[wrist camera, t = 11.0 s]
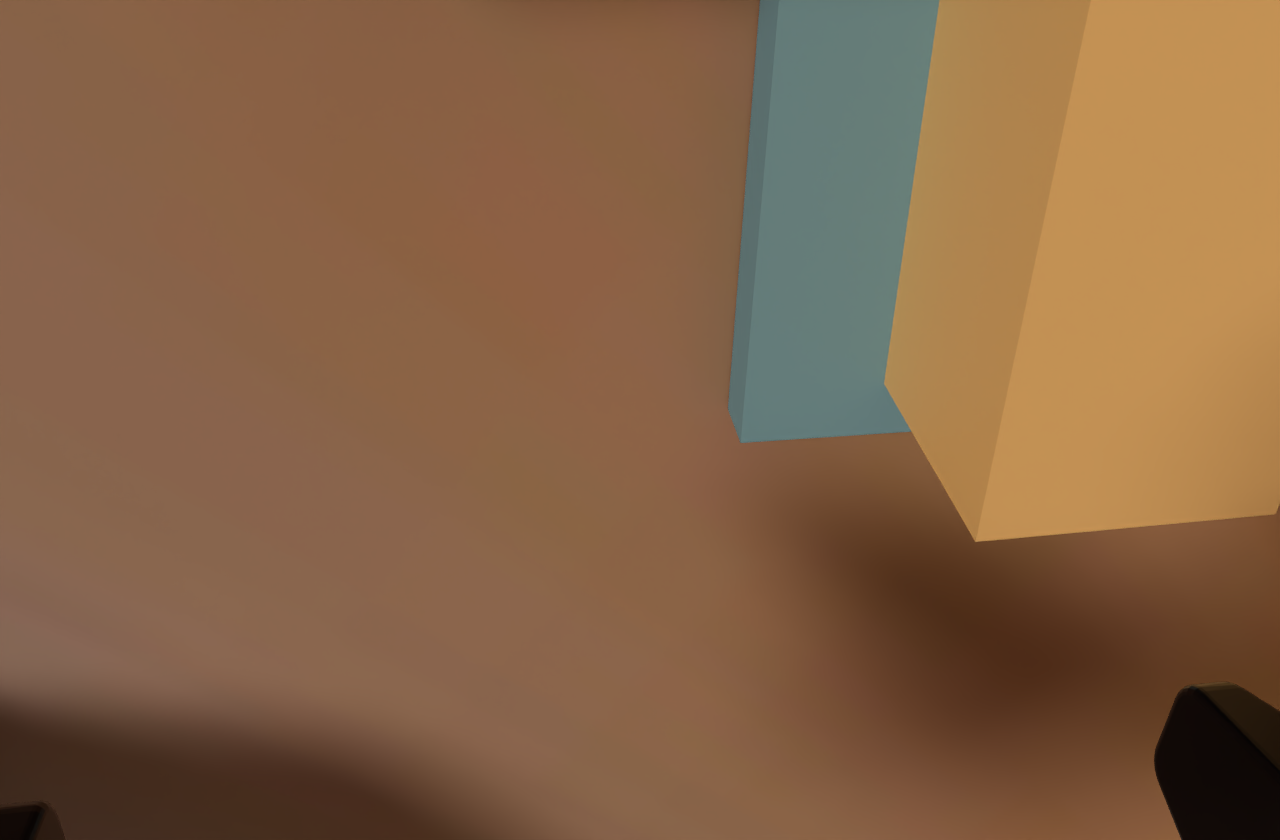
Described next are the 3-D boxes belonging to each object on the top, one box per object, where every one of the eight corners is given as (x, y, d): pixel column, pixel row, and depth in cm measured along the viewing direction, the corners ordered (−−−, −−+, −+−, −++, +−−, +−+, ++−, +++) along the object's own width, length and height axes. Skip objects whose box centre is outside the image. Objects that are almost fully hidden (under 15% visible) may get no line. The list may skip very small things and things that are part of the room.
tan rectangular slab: (1138, 364, 20) (1275, 514, 17) (883, 383, 20) (975, 541, 17) (1429, -671, 13) (1765, -754, 10) (1039, -689, 13) (1257, -783, 9)
